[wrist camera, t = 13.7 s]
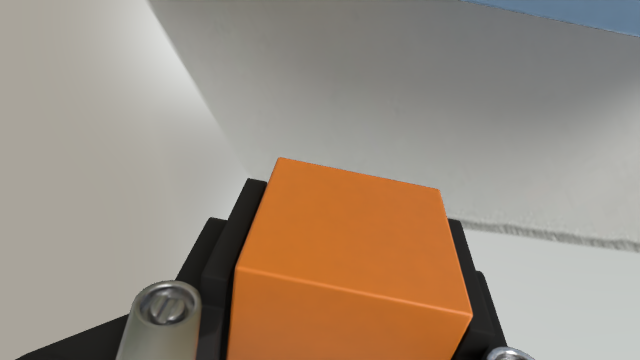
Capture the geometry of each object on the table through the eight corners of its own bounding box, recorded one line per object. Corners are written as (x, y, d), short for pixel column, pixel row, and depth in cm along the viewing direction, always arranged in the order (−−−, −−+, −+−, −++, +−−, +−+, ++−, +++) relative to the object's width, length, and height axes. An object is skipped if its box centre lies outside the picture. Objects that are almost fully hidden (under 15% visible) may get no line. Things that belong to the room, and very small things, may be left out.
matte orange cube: (260, 276, 14) (220, 408, 10) (278, 155, 12) (234, 266, 8) (396, 303, 14) (407, 446, 10) (440, 187, 12) (475, 316, 8)
